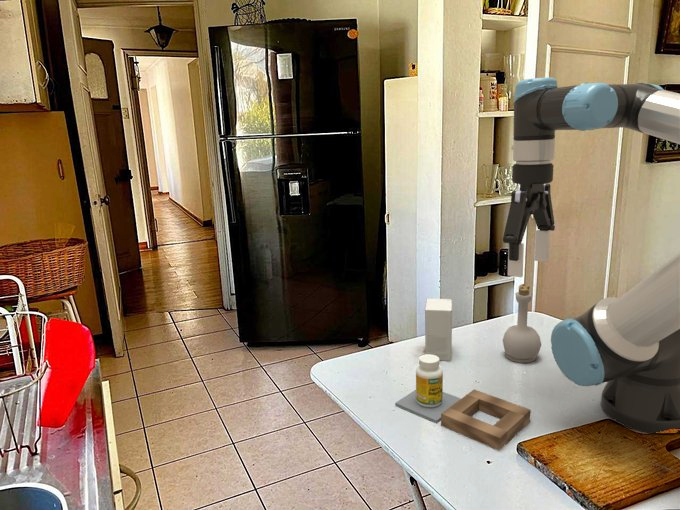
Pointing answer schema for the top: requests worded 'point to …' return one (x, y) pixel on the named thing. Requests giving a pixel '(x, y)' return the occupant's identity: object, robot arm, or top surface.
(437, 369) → the supplement bottle
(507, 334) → the potion bottle
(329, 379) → the top surface
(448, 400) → the rest mat
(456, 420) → the socket block
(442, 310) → the small box
